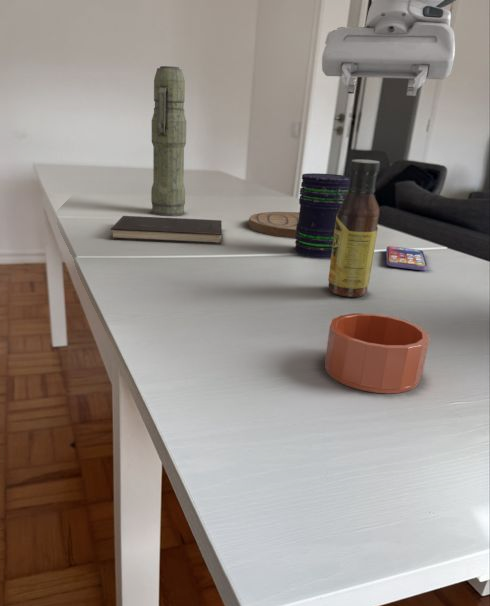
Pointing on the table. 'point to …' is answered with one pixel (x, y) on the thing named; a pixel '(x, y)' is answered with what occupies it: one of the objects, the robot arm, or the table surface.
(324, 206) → the storage jar
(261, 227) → the trivet
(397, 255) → the smartphone
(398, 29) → the robot arm
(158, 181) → the thermos
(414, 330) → the faceted bowl
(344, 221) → the sauce bottle
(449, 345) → the table surface
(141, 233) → the hardcover book
